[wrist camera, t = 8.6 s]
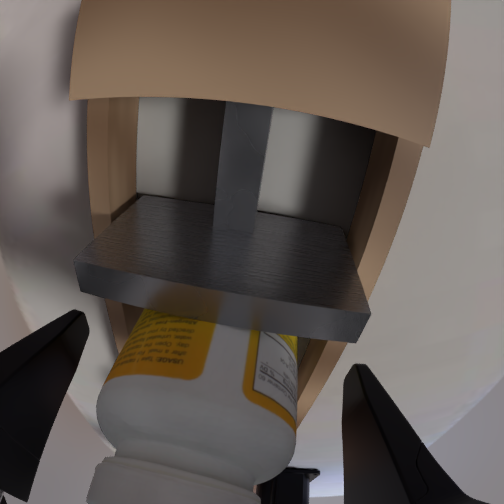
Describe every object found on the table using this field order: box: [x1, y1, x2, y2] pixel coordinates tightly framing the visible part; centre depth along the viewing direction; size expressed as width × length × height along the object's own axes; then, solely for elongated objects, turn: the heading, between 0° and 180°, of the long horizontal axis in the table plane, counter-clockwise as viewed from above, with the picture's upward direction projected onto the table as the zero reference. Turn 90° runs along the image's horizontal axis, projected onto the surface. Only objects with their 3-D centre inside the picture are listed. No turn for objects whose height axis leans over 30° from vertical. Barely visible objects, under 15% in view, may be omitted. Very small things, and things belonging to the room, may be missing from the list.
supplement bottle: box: [86, 308, 298, 504], centre depth 8 cm, size 5×5×10 cm
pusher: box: [74, 101, 371, 343], centre depth 7 cm, size 7×7×4 cm
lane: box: [69, 0, 451, 429], centre depth 11 cm, size 26×10×4 cm, turn 172°
